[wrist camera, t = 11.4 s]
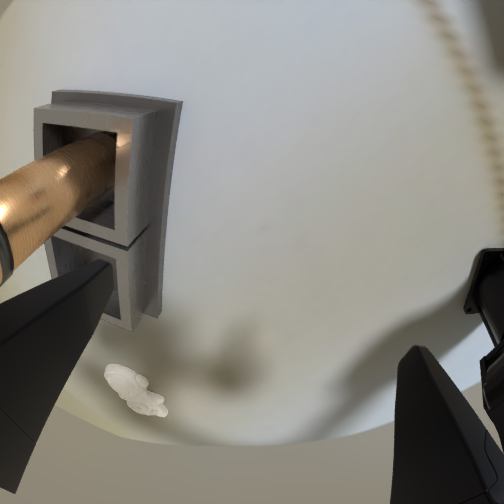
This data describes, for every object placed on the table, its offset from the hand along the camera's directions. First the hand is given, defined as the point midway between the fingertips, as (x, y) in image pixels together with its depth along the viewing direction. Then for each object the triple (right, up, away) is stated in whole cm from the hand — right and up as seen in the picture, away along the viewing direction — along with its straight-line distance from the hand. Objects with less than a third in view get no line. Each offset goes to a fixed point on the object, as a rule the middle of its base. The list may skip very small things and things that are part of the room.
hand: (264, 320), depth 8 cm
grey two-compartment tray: (-12, +5, +15) cm, 20 cm away
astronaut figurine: (-17, -18, +31) cm, 40 cm away
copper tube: (-11, +8, +12) cm, 18 cm away
